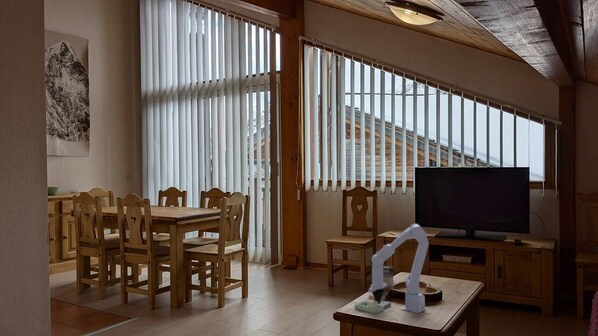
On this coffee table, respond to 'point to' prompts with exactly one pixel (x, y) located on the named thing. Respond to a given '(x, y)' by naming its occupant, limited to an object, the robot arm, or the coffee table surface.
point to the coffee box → (387, 279)
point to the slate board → (386, 304)
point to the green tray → (368, 308)
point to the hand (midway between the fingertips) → (378, 303)
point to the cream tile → (372, 304)
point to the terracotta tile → (371, 297)
